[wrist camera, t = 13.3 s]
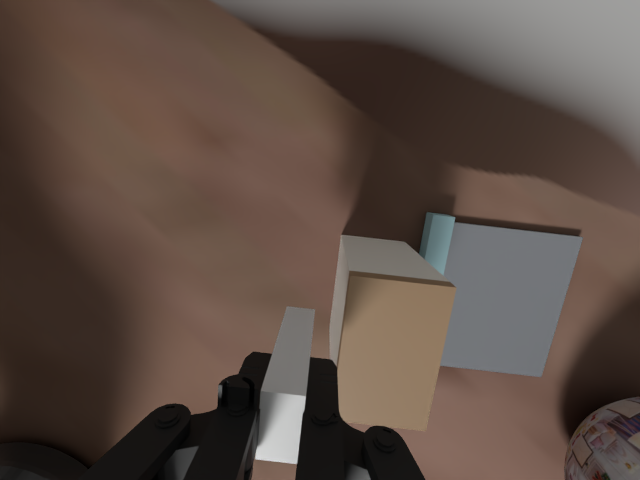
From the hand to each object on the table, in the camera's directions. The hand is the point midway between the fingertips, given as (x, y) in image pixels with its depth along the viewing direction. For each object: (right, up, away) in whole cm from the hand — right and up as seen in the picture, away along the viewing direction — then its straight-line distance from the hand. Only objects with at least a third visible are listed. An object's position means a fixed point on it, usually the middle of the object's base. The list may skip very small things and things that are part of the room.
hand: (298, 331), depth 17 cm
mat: (+15, 0, +8) cm, 18 cm away
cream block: (+5, +1, +8) cm, 10 cm away
